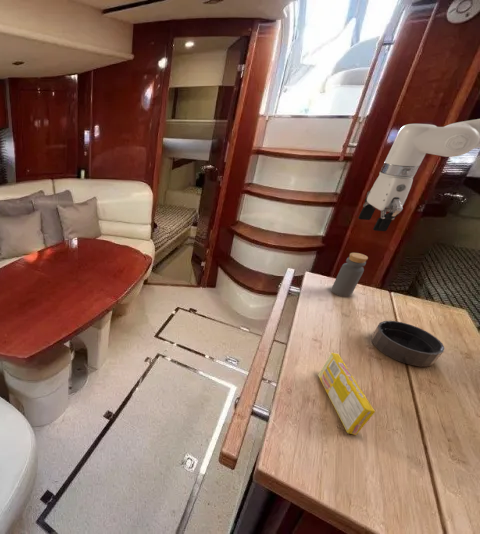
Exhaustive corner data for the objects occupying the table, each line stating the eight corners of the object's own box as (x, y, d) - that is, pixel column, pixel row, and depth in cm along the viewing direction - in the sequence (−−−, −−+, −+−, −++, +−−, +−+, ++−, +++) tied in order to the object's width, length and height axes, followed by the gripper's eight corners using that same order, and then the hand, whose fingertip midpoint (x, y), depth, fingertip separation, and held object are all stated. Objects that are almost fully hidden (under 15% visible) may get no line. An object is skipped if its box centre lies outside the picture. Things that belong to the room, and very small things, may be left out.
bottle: (333, 286, 113) (350, 250, 105) (353, 292, 109) (372, 255, 101) (328, 292, 110) (345, 255, 102) (348, 299, 106) (368, 261, 98)
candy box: (358, 436, 64) (376, 412, 60) (346, 433, 65) (363, 409, 61) (326, 376, 78) (339, 353, 74) (316, 374, 78) (329, 351, 74)
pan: (414, 338, 89) (423, 325, 86) (446, 372, 78) (457, 358, 76) (361, 330, 92) (369, 317, 90) (385, 362, 81) (394, 348, 79)
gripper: (434, 178, 81) (401, 236, 90) (397, 164, 95) (371, 216, 104) (399, 176, 83) (370, 234, 92) (368, 163, 97) (345, 214, 106)
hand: (371, 224), depth 98 cm, fingers open, 9 cm apart
